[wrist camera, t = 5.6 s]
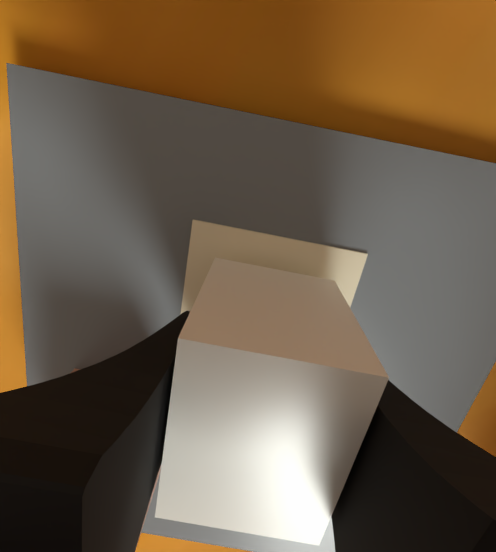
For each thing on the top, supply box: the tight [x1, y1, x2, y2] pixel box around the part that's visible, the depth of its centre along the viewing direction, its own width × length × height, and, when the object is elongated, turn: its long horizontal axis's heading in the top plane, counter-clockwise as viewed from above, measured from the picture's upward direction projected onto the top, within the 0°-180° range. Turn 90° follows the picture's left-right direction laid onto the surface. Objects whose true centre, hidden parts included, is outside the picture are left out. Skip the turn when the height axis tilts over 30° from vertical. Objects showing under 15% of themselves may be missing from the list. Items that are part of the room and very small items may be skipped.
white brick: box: [155, 257, 389, 546], centre depth 9 cm, size 4×5×5 cm
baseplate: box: [7, 63, 496, 552], centre depth 14 cm, size 18×20×1 cm
